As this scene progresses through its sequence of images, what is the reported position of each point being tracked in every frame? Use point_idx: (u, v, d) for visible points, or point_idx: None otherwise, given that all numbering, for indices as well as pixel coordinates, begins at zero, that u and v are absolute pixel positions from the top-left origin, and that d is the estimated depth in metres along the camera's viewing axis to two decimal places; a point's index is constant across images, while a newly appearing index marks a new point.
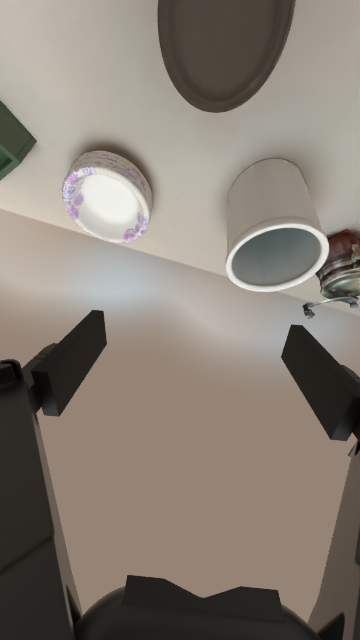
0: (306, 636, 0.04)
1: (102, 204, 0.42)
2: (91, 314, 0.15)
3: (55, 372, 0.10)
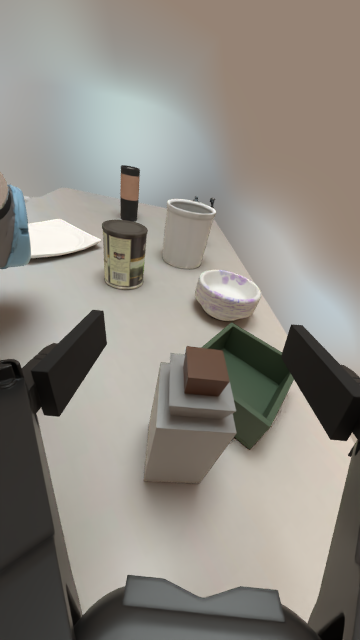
0: (306, 636, 0.04)
1: None
2: (91, 314, 0.15)
3: (55, 372, 0.10)
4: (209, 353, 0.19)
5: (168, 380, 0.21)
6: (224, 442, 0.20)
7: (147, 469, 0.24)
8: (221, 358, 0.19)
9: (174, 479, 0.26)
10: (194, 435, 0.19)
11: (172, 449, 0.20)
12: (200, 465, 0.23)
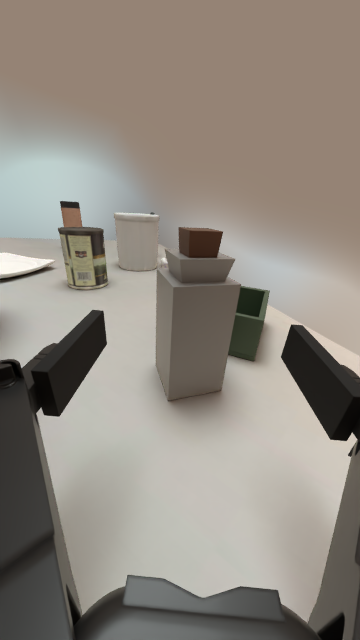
0: (306, 636, 0.04)
1: None
2: (91, 314, 0.15)
3: (55, 372, 0.10)
4: (199, 228, 0.22)
5: (169, 273, 0.23)
6: (233, 301, 0.22)
7: (170, 373, 0.24)
8: (209, 229, 0.22)
9: (197, 388, 0.26)
10: (207, 295, 0.21)
11: (190, 326, 0.22)
12: (218, 351, 0.24)
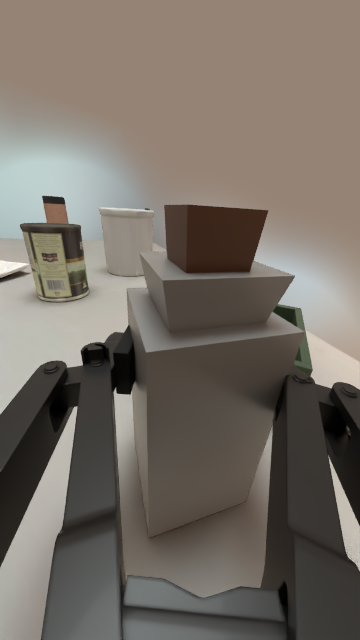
0: None
1: None
2: None
3: (130, 355, 0.12)
4: None
5: (147, 300, 0.12)
6: (283, 366, 0.10)
7: (150, 502, 0.12)
8: None
9: (204, 509, 0.14)
10: (229, 361, 0.09)
11: (191, 422, 0.10)
12: (245, 452, 0.12)
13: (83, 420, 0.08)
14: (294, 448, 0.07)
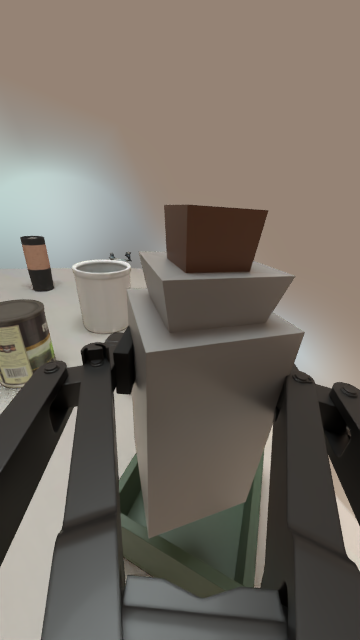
0: None
1: None
2: None
3: (130, 355, 0.12)
4: None
5: (147, 301, 0.12)
6: (283, 367, 0.10)
7: (150, 503, 0.12)
8: None
9: (204, 509, 0.14)
10: (229, 362, 0.09)
11: (191, 422, 0.10)
12: (245, 453, 0.12)
13: (83, 420, 0.08)
14: (294, 448, 0.07)
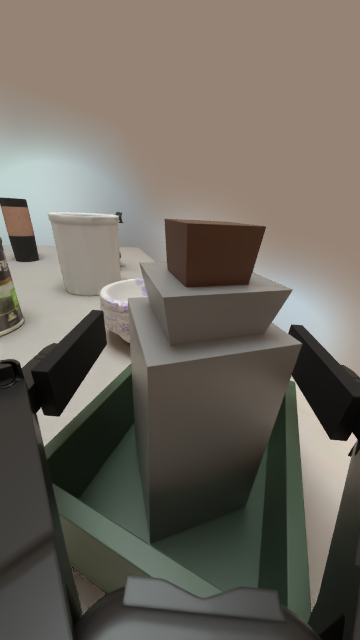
0: (306, 636, 0.04)
1: None
2: (91, 314, 0.15)
3: (55, 372, 0.10)
4: (208, 221, 0.10)
5: (148, 311, 0.12)
6: (282, 377, 0.10)
7: (151, 509, 0.12)
8: (230, 222, 0.10)
9: (204, 514, 0.14)
10: (229, 374, 0.09)
11: (191, 432, 0.10)
12: (244, 460, 0.13)
13: None
14: None
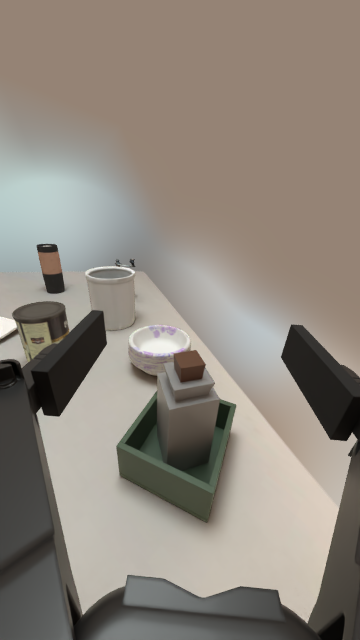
0: (306, 636, 0.04)
1: (168, 352, 0.55)
2: (91, 314, 0.15)
3: (55, 372, 0.10)
4: (189, 353, 0.29)
5: (166, 382, 0.31)
6: (214, 409, 0.29)
7: (168, 458, 0.31)
8: (196, 354, 0.29)
9: (189, 464, 0.33)
10: (194, 409, 0.28)
11: (182, 428, 0.29)
12: (204, 440, 0.32)
13: None
14: None
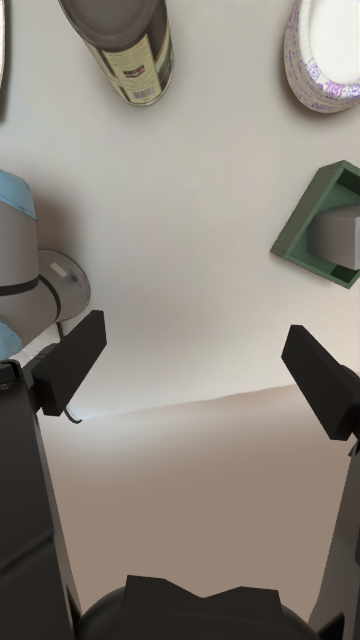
0: (306, 636, 0.04)
1: None
2: (91, 314, 0.15)
3: (55, 372, 0.10)
4: None
5: None
6: None
7: (319, 256, 0.39)
8: None
9: None
10: None
11: None
12: None
13: None
14: None
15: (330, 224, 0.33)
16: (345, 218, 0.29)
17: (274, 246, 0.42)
